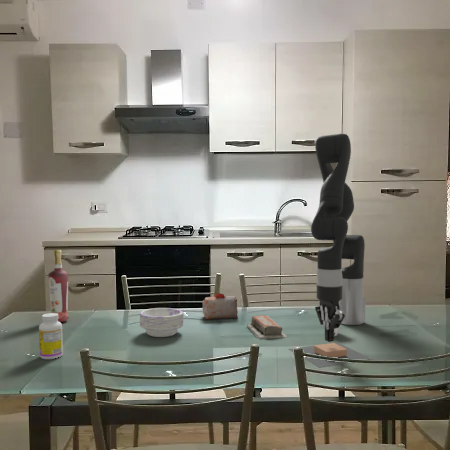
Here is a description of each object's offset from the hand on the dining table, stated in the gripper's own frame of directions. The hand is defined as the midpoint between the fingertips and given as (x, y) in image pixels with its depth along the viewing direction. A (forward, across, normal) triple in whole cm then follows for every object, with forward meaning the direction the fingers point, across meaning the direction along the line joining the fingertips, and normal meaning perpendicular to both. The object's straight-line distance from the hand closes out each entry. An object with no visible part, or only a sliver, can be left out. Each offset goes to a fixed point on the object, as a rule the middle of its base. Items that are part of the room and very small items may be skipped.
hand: (329, 340), depth 148 cm
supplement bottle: (+5, +31, +78) cm, 84 cm away
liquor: (+5, +75, +74) cm, 105 cm away
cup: (+5, +18, -13) cm, 23 cm away
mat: (+4, 0, 0) cm, 4 cm away
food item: (+5, +58, +14) cm, 60 cm away
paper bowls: (+5, +43, +41) cm, 60 cm away
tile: (+3, +3, 0) cm, 4 cm away
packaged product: (+5, +31, +6) cm, 32 cm away
